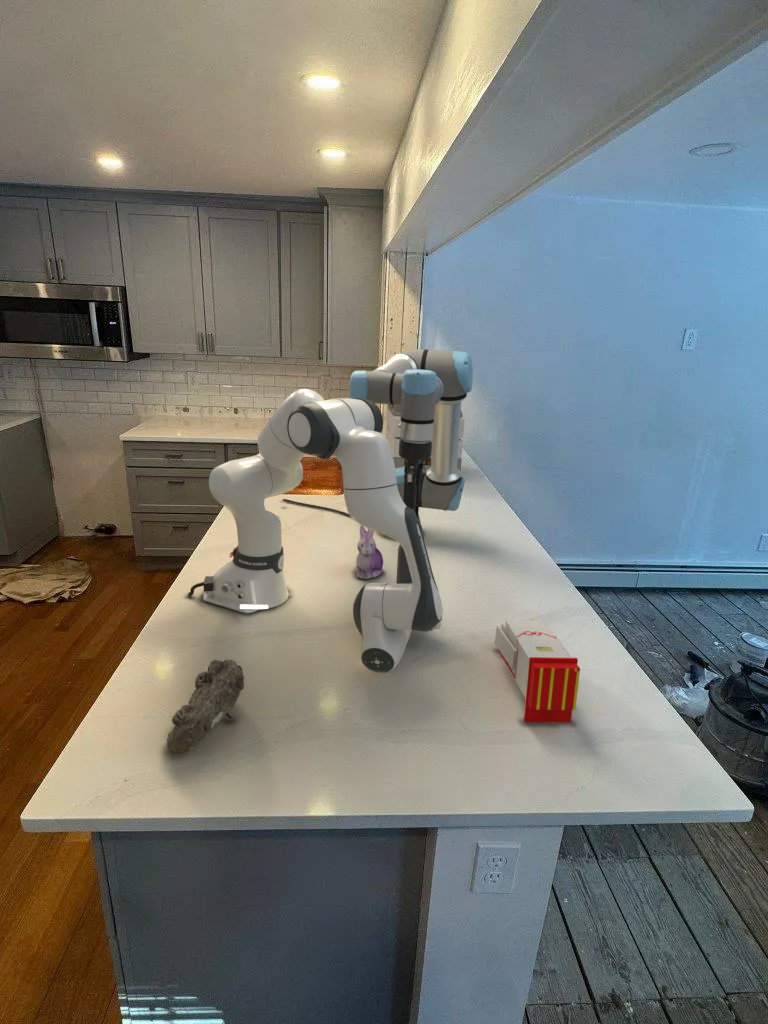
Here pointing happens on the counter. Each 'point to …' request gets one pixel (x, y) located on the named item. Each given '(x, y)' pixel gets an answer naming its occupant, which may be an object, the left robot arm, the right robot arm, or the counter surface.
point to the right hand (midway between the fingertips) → (409, 534)
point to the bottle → (402, 568)
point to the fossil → (206, 705)
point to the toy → (540, 670)
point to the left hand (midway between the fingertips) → (406, 596)
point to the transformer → (394, 437)
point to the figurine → (368, 556)
